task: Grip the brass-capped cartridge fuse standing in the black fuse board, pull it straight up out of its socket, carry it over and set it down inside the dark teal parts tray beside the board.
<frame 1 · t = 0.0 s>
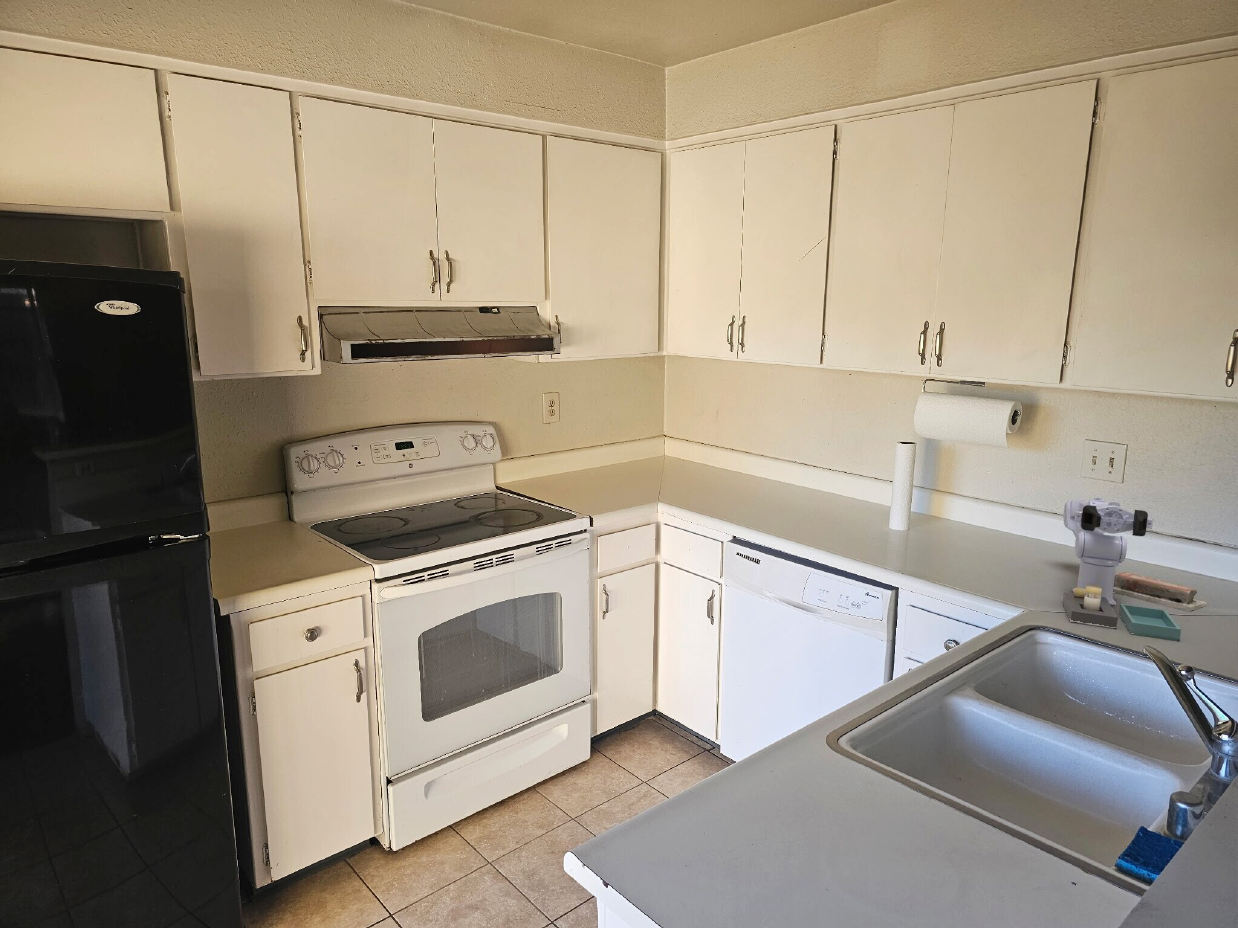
hand: (1119, 523, 171), 22 cm above the worktop, tool horizontal, fingers open, 7 cm apart
fuse: (1089, 618, 176), resting in fuse board
packaged product: (1155, 600, 194), on the worktop
parts tray: (1147, 627, 172), on the worktop
fuse board: (1088, 614, 179), on the worktop
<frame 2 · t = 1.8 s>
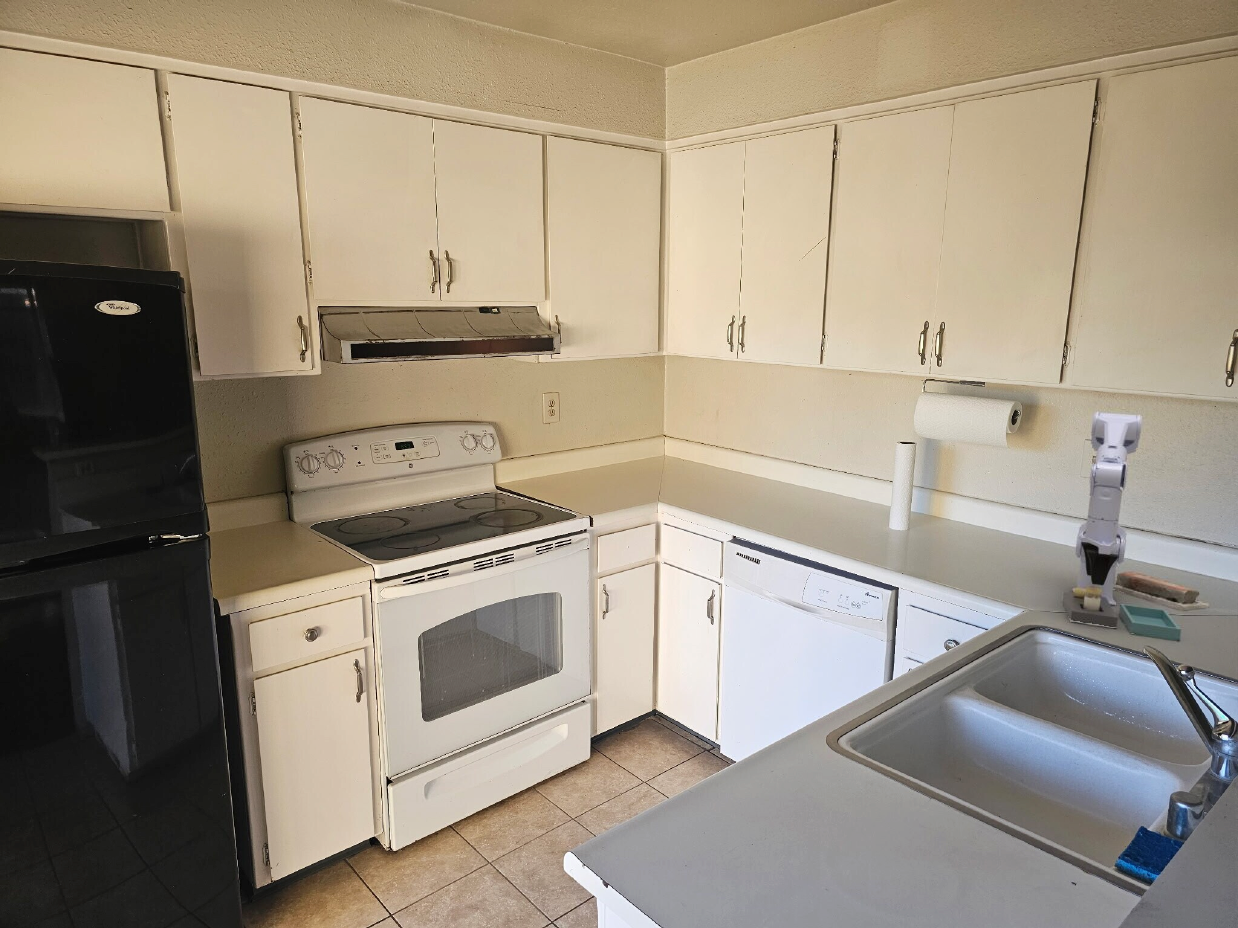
hand: (1094, 579, 175), 9 cm above the worktop, tool pointing down, fingers open, 7 cm apart
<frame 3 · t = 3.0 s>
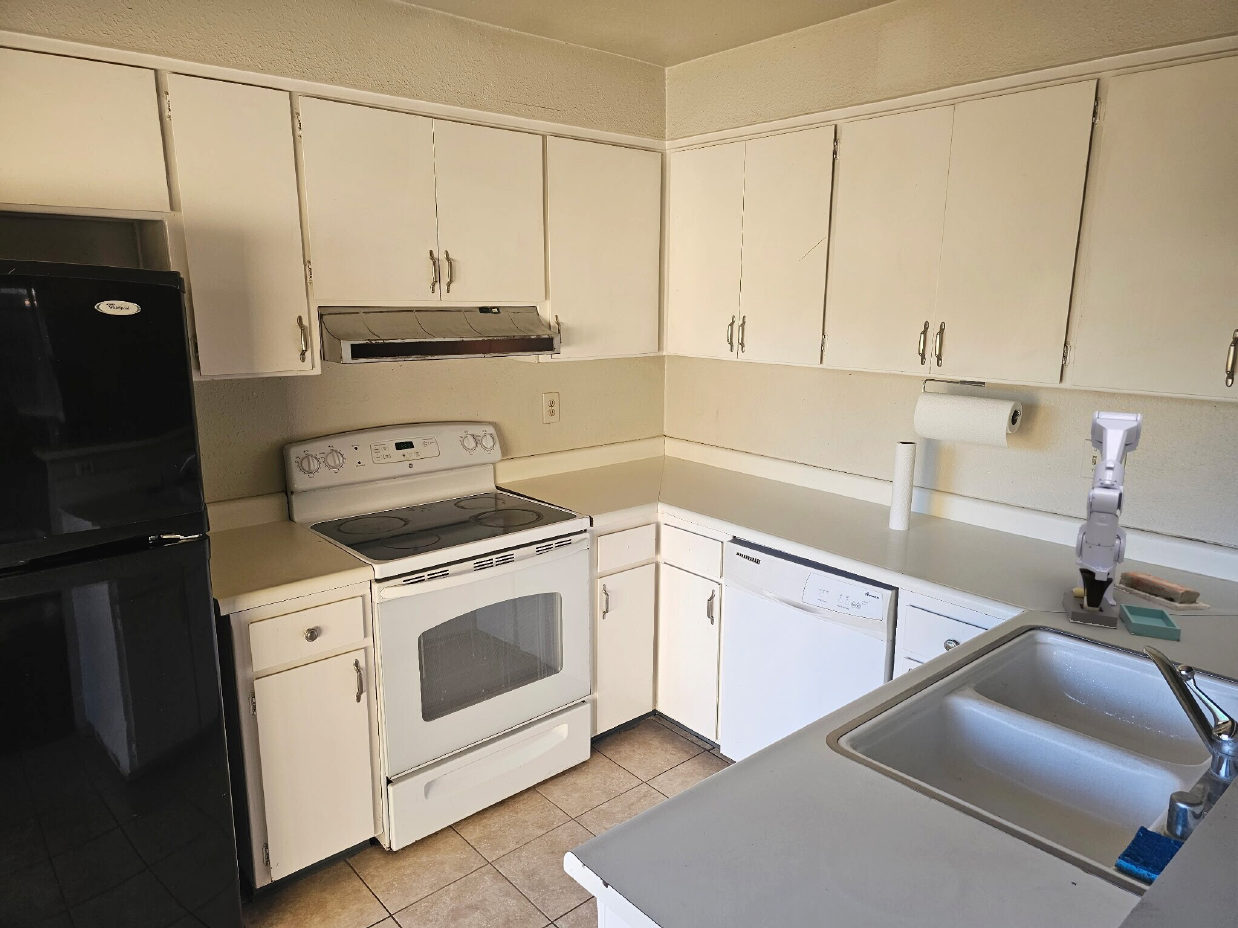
hand: (1091, 604, 176), 3 cm above the worktop, tool pointing down, fingers closed on fuse, 3 cm apart
fuse: (1089, 618, 176), resting in fuse board, touching gripper
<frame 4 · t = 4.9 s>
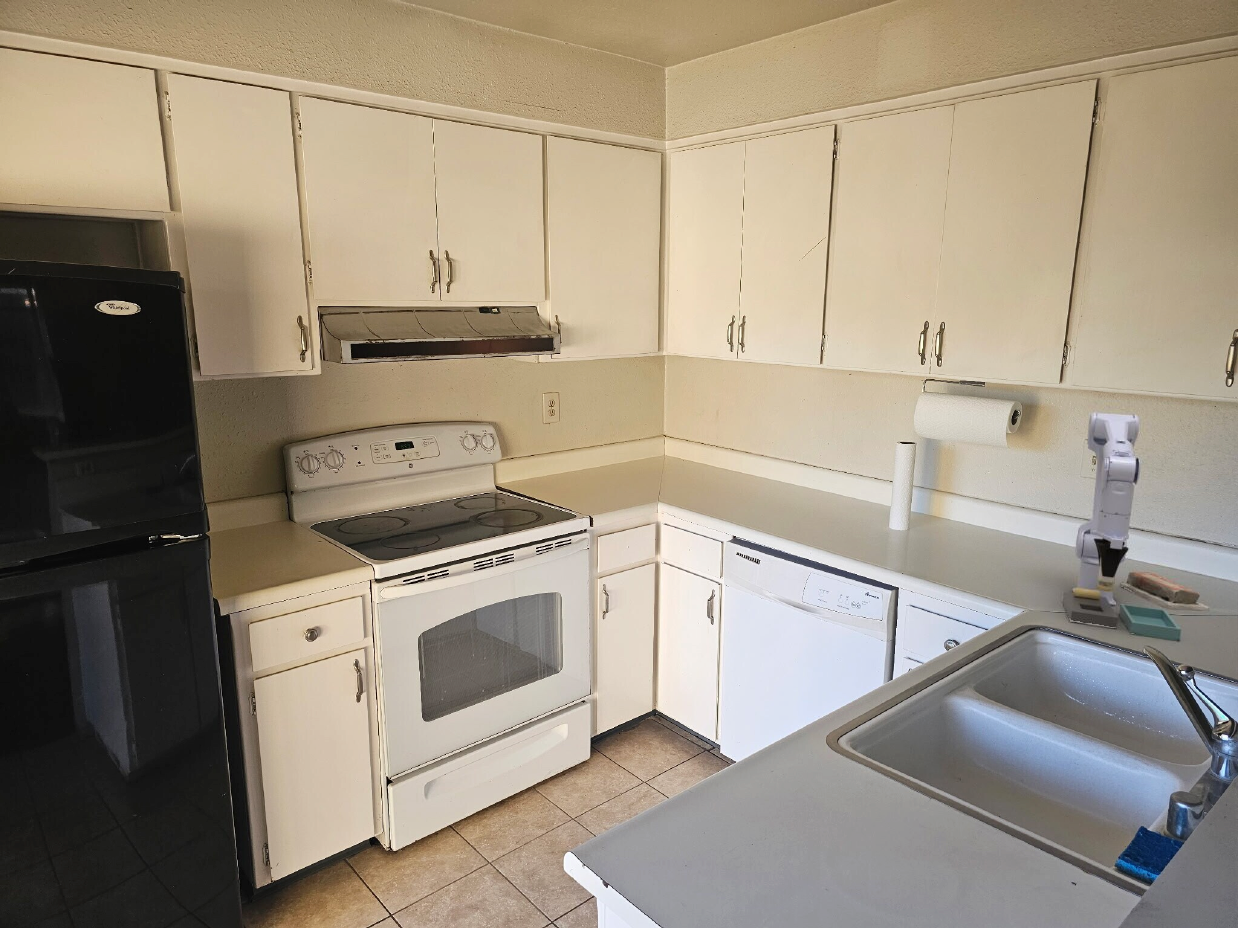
hand: (1106, 574, 174), 10 cm above the worktop, tool pointing down, fingers closed on fuse, 3 cm apart
fuse: (1104, 589, 174), point 7 cm above the worktop, touching gripper
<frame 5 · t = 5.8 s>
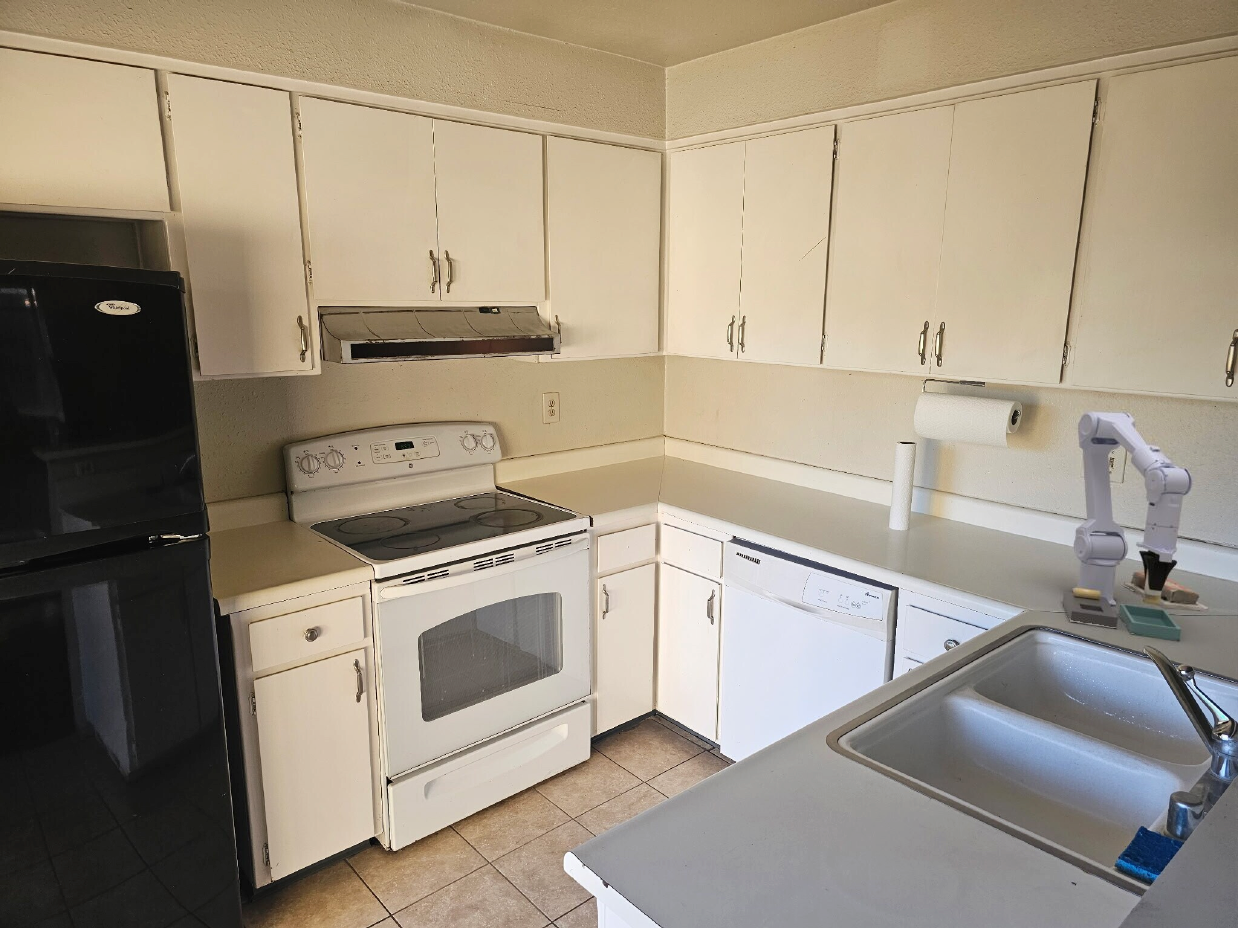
hand: (1153, 587, 171), 9 cm above the worktop, tool pointing down, fingers closed on fuse, 3 cm apart
fuse: (1151, 602, 171), point 5 cm above the worktop, touching gripper
when the fingers open (5 cm above the worktop, at t = 6.8 s): fuse stays where it is, resting on parts tray.
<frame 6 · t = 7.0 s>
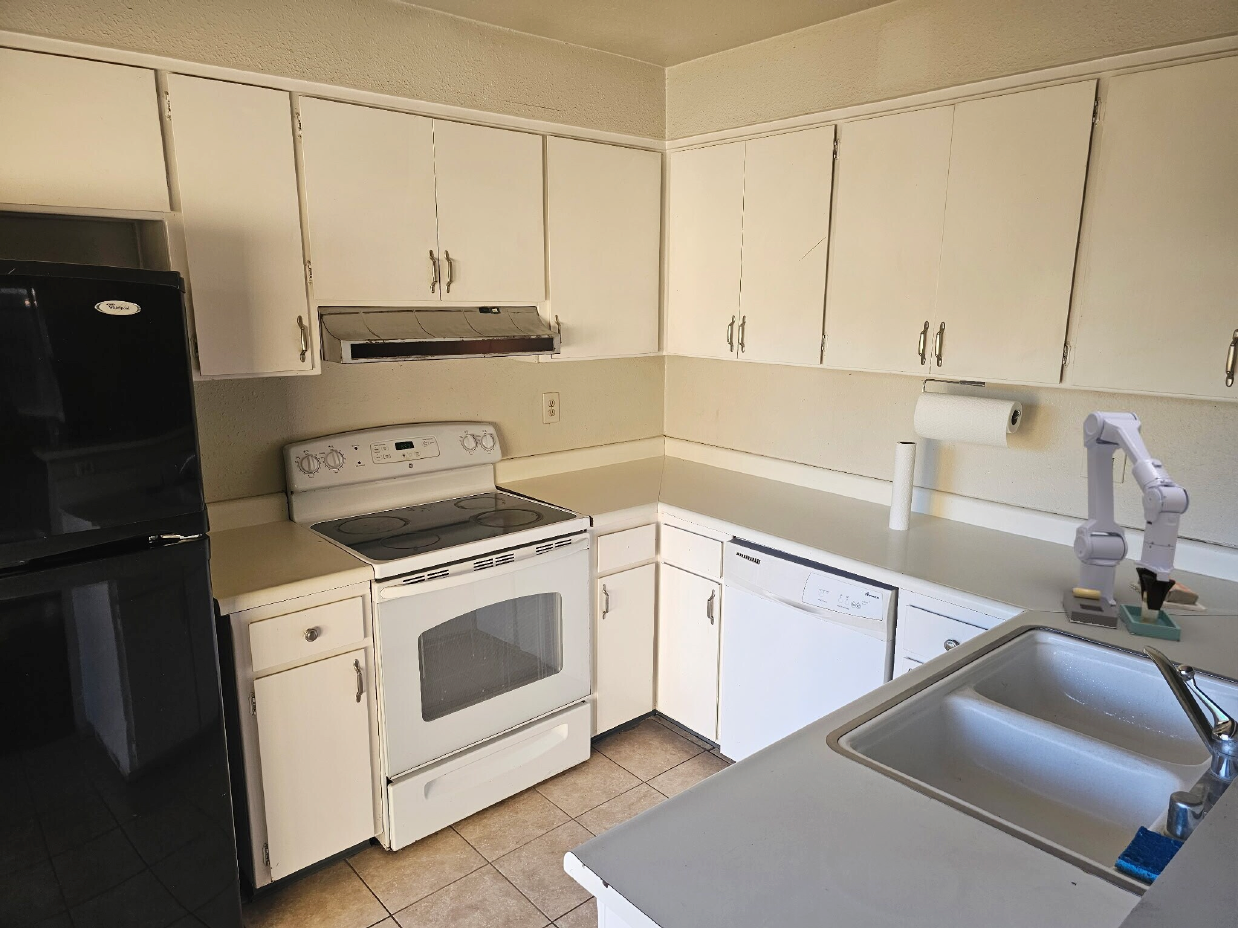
hand: (1150, 605, 171), 5 cm above the worktop, tool pointing down, fingers open, 5 cm apart
fuse: (1148, 624, 172), point 1 cm above the worktop, touching parts tray
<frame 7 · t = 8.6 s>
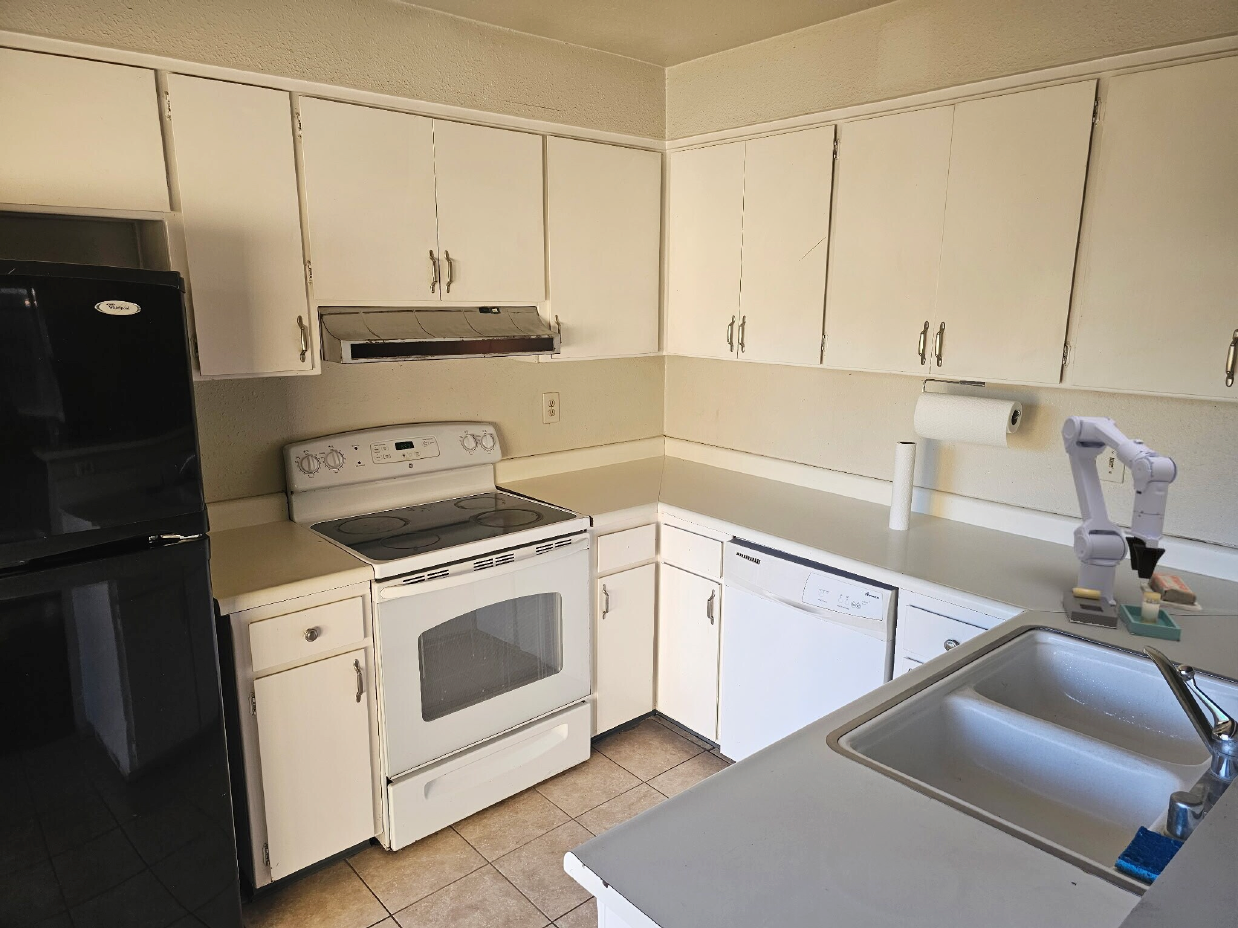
hand: (1140, 574, 175), 10 cm above the worktop, tool pointing down, fingers open, 7 cm apart
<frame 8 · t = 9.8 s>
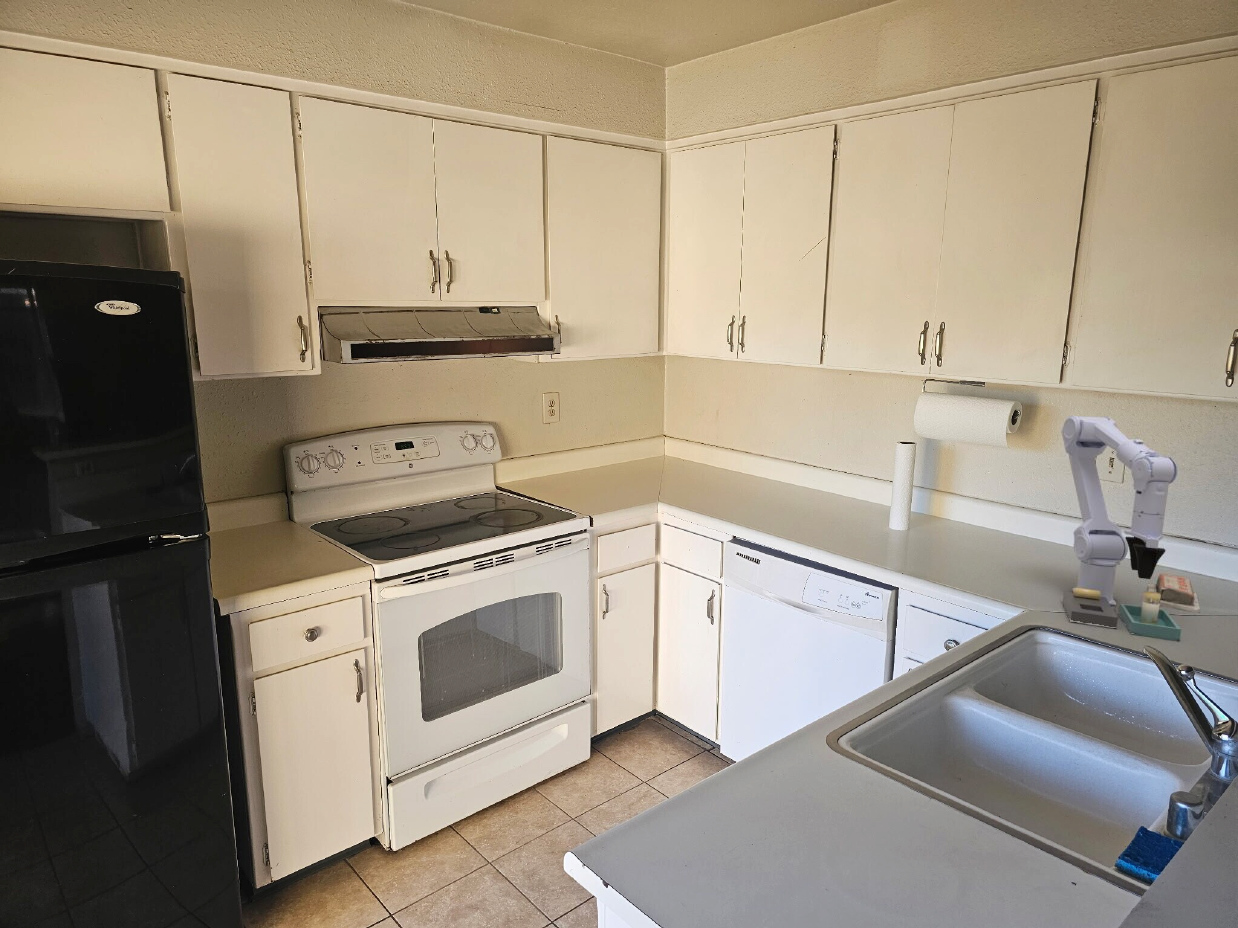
hand: (1140, 574, 175), 10 cm above the worktop, tool pointing down, fingers open, 7 cm apart
at the end: fuse inside the target area on the parts tray (0.0 cm from its centre), point 0.5 cm above the parts tray's base; fuse moved 10.8 cm from its start; the gripper is holding nothing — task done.
